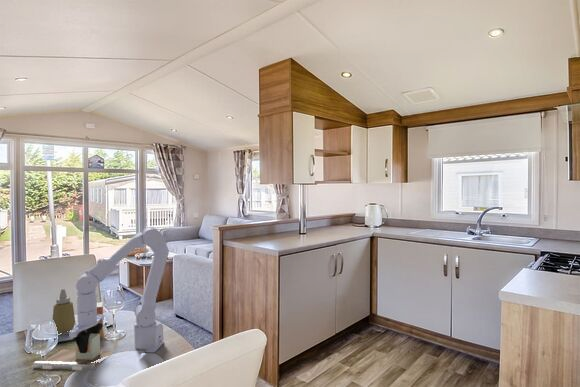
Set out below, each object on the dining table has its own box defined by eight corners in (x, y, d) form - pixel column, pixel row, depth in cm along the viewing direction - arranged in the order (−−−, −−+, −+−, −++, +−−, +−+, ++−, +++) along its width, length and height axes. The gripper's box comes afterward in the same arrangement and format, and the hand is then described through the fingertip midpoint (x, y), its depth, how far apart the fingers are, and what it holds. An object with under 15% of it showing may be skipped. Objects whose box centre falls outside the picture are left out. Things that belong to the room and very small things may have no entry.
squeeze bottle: (66, 337, 131) (65, 292, 131) (46, 337, 131) (45, 292, 131) (80, 328, 139) (79, 286, 139) (61, 329, 139) (60, 286, 139)
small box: (79, 344, 125) (78, 310, 125) (80, 337, 131) (79, 305, 130) (103, 339, 129) (102, 306, 129) (103, 333, 134) (103, 301, 134)
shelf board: (115, 354, 117) (115, 346, 117) (91, 374, 104) (91, 365, 104) (62, 352, 119) (62, 345, 118) (32, 372, 106) (32, 363, 106)
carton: (83, 353, 115) (83, 333, 115) (100, 353, 115) (99, 333, 115) (75, 359, 111) (75, 338, 111) (92, 359, 111) (92, 338, 111)
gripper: (90, 302, 120) (91, 339, 121) (59, 317, 106) (60, 359, 106) (109, 302, 120) (109, 339, 120) (80, 318, 105) (81, 360, 105)
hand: (88, 349), depth 113 cm, fingers closed on carton, 4 cm apart
